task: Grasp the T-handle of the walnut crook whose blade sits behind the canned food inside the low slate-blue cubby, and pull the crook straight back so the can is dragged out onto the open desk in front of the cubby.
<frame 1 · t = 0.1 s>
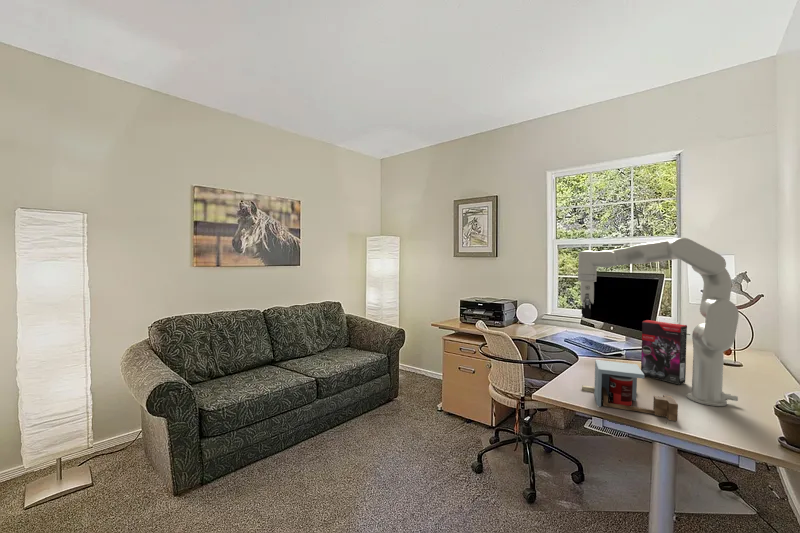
hand: (585, 315, 169), 31 cm above the table, tool pointing down, fingers open, 9 cm apart
bracket: (616, 389, 165), on the table
cubby: (617, 403, 147), on the table
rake: (636, 400, 142), point 3 cm above the table, slide at 0.0 cm
canned food: (620, 404, 147), on the table
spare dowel: (597, 392, 160), on the table
graphics card box: (662, 379, 179), on the table
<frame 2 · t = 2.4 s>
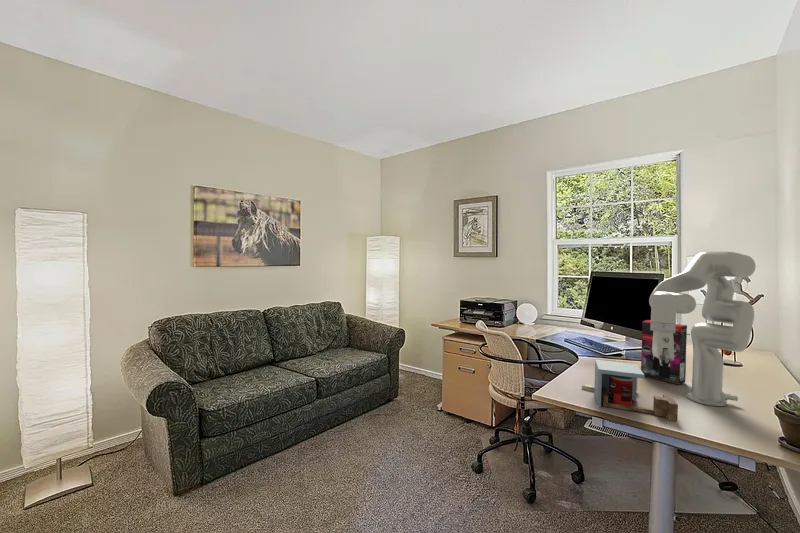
hand: (660, 373, 136), 15 cm above the table, tool pointing down, fingers open, 9 cm apart
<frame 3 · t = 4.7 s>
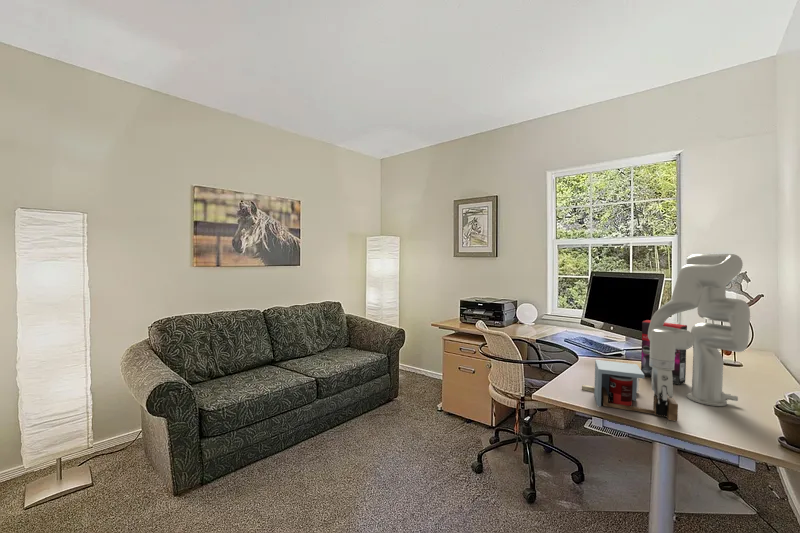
hand: (659, 412, 137), 1 cm above the table, tool pointing down, fingers closed on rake, 3 cm apart
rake: (636, 400, 142), point 3 cm above the table, slide at 0.0 cm, touching gripper
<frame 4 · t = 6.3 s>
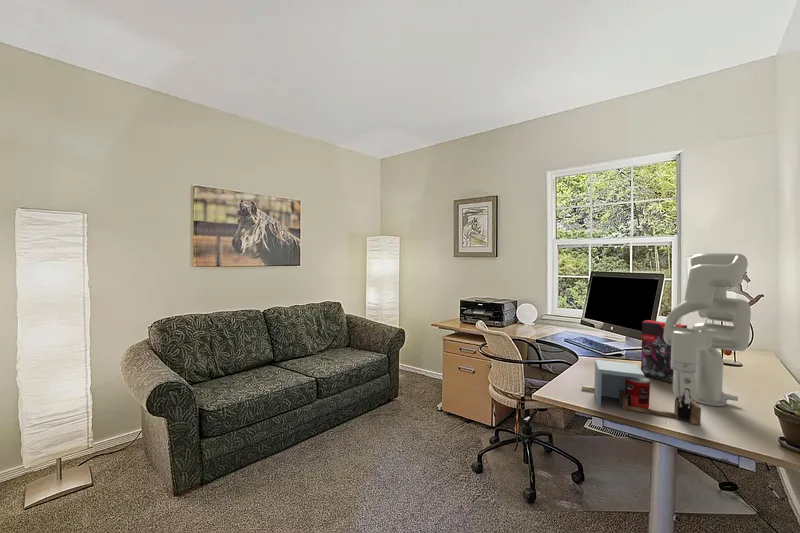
hand: (681, 415, 134), 1 cm above the table, tool pointing down, fingers closed on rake, 3 cm apart
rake: (656, 403, 140), point 3 cm above the table, slide at 6.5 cm, touching canned food, gripper
canned food: (636, 406, 145), on the table, touching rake
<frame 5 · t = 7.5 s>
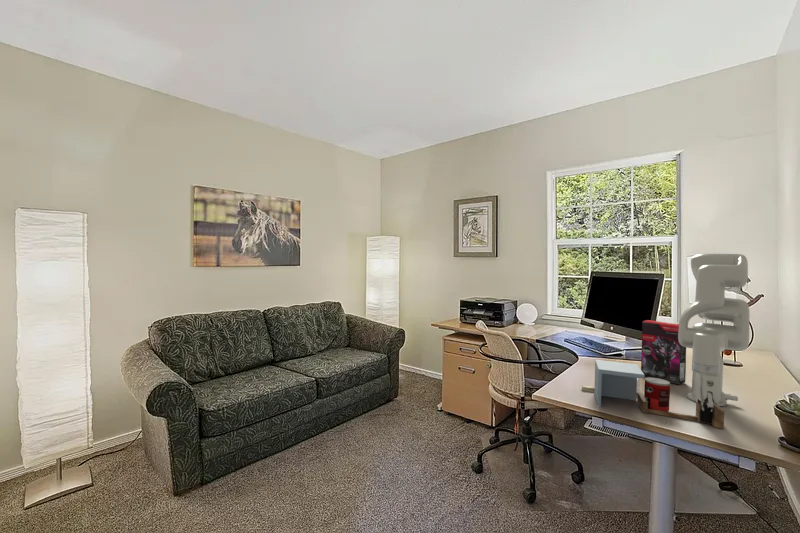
hand: (703, 419, 132), 1 cm above the table, tool pointing down, fingers closed on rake, 3 cm apart
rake: (677, 406, 137), point 3 cm above the table, slide at 12.9 cm, touching canned food, gripper
canned food: (656, 409, 142), on the table, touching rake
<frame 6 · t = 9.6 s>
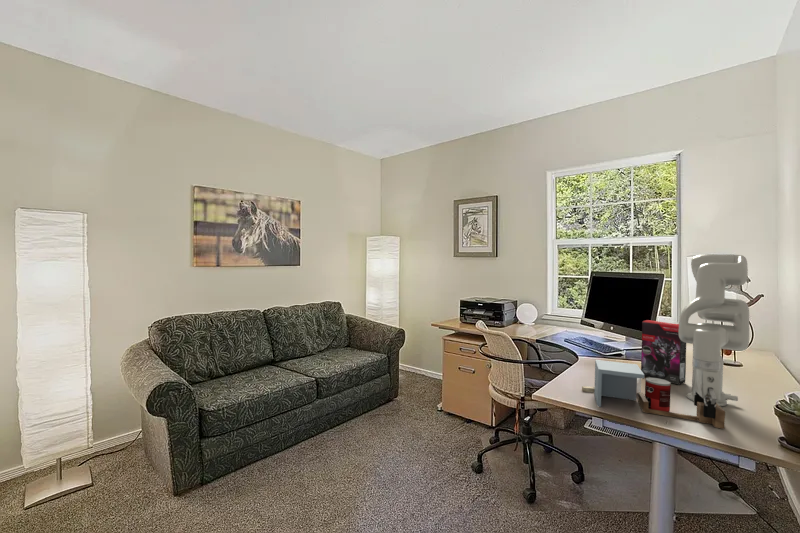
hand: (704, 411, 132), 3 cm above the table, tool pointing down, fingers open, 9 cm apart
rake: (677, 406, 137), point 3 cm above the table, slide at 13.1 cm, touching canned food
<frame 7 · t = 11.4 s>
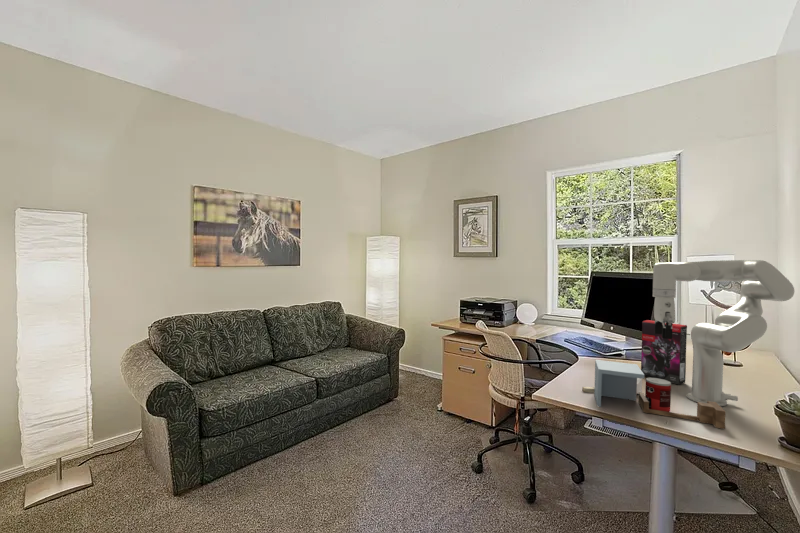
hand: (662, 336, 149), 26 cm above the table, tool pointing down, fingers open, 9 cm apart
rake: (678, 406, 137), point 3 cm above the table, slide at 13.2 cm
canned food: (657, 409, 142), on the table
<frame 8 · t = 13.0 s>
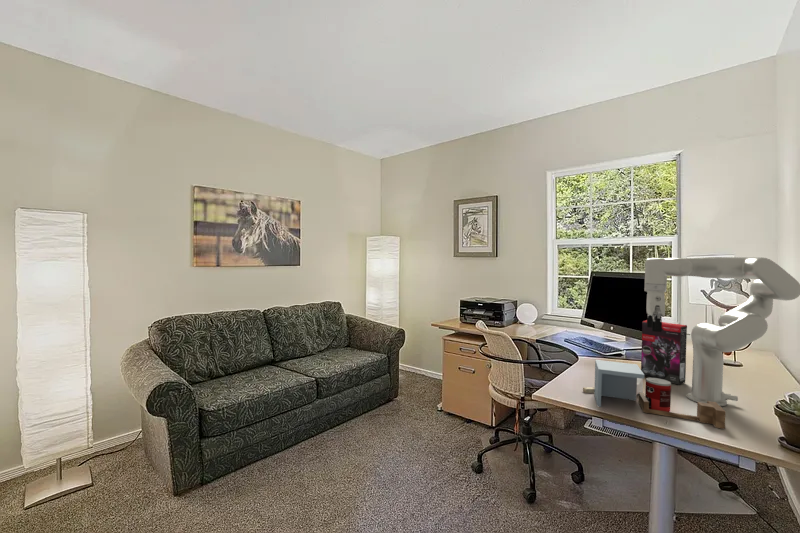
hand: (653, 329, 154), 28 cm above the table, tool pointing down, fingers open, 9 cm apart
at the end: canned food inside the target area (1.7 cm from its centre), on the table; canned food tilted 0°; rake slide at 13.2 cm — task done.
